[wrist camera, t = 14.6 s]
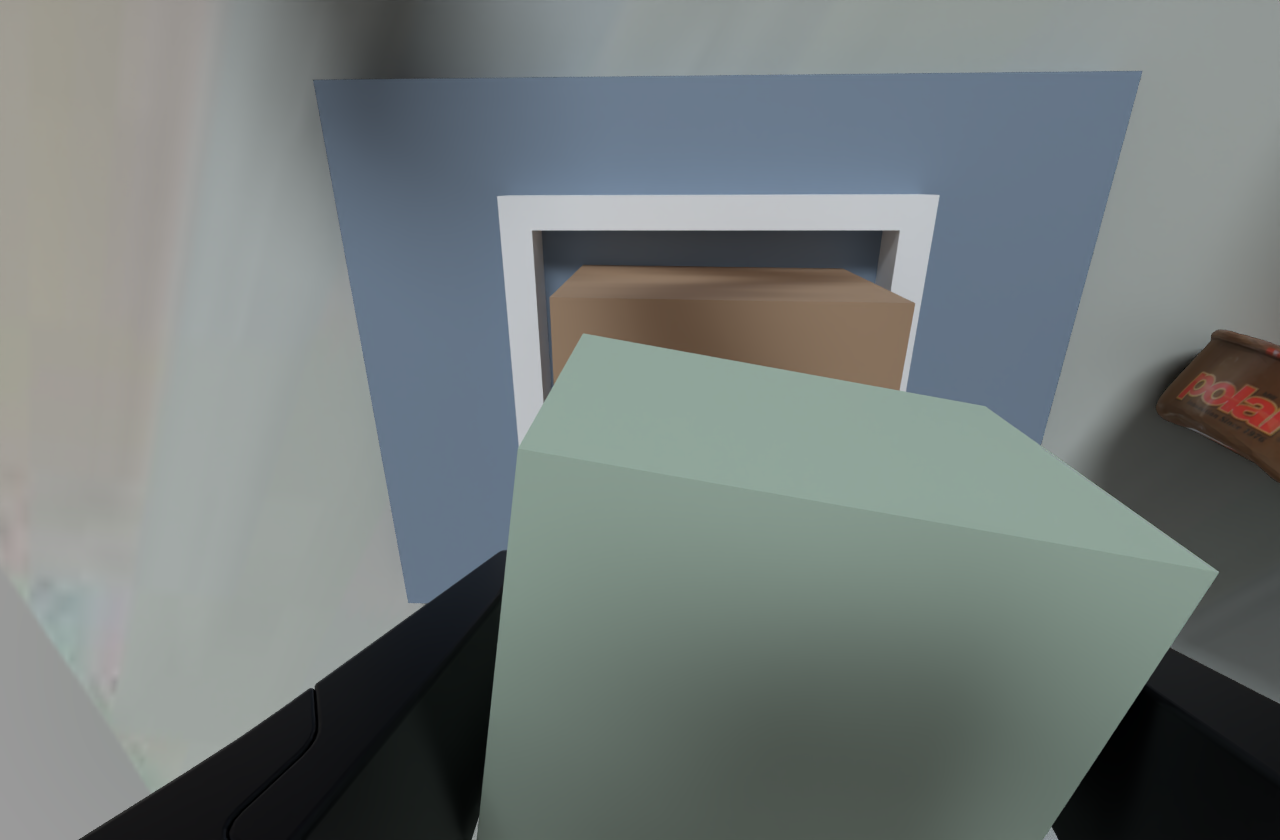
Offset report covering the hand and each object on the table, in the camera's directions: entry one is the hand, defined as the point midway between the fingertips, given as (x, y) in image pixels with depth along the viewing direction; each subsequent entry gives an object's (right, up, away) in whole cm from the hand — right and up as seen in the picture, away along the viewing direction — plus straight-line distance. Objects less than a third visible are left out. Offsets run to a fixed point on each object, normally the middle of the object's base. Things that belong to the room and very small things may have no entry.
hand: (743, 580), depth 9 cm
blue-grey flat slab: (0, +4, +9) cm, 10 cm away
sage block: (0, 0, +1) cm, 1 cm away
